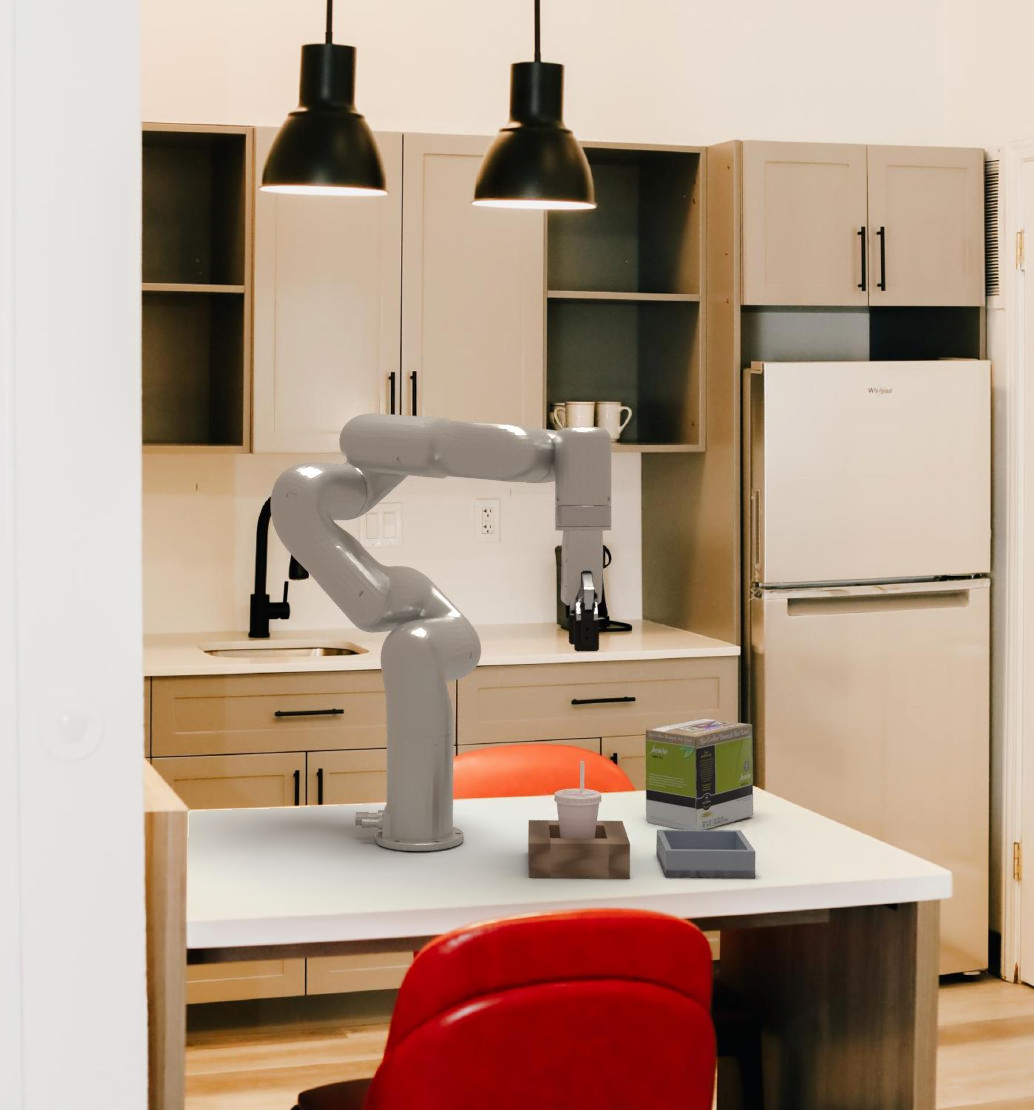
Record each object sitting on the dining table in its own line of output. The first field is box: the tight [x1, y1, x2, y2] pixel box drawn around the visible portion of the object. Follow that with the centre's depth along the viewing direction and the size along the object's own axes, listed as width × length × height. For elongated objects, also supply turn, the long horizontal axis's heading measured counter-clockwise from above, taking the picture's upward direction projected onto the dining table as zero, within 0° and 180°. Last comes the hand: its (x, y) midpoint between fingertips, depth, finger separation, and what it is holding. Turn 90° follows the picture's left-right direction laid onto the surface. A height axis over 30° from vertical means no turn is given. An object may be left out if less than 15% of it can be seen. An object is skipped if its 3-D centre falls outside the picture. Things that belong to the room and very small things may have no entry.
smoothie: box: [553, 760, 603, 839], centre depth 180 cm, size 6×6×14 cm
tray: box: [655, 829, 756, 879], centre depth 180 cm, size 12×12×4 cm
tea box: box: [644, 717, 754, 830], centre depth 207 cm, size 15×10×15 cm
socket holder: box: [527, 819, 631, 880], centre depth 180 cm, size 13×13×4 cm
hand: (583, 647), depth 180 cm, fingers open, 9 cm apart
